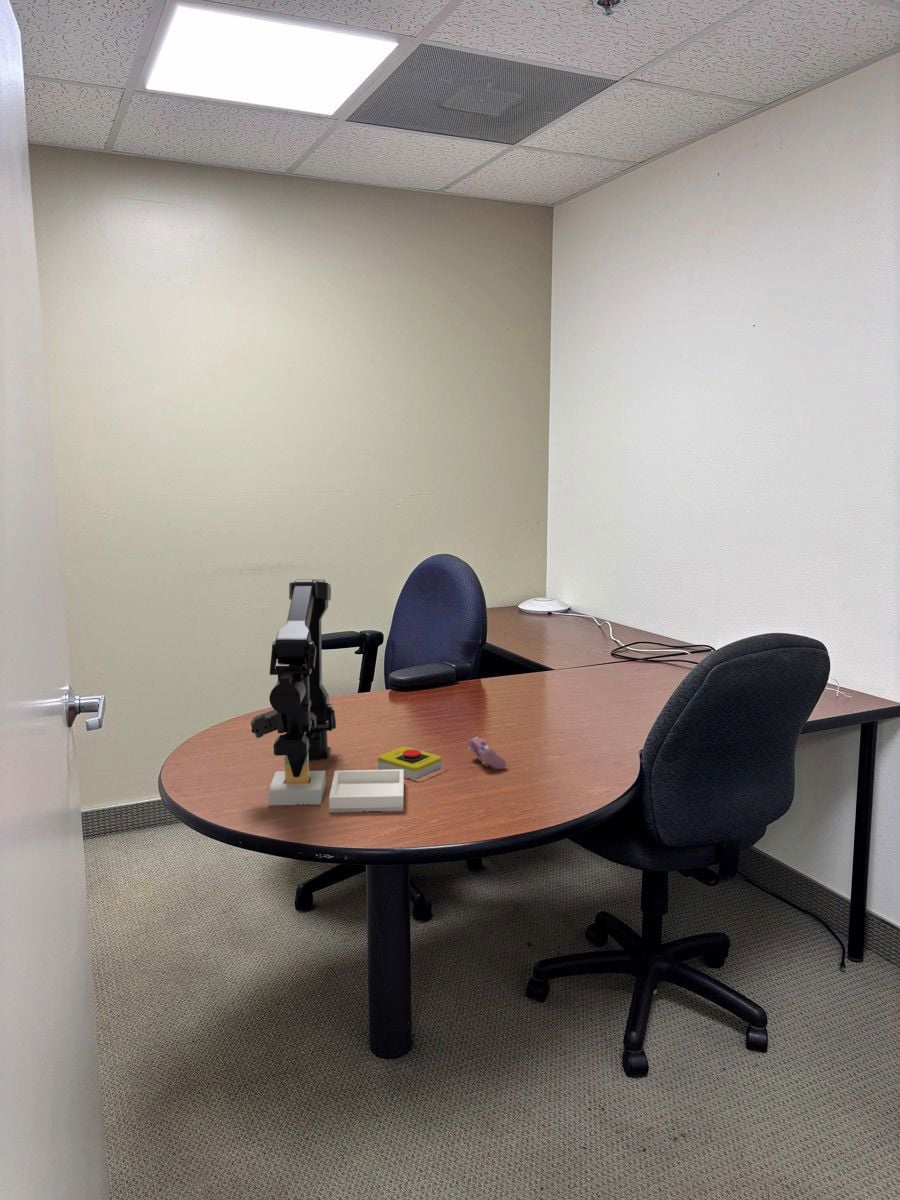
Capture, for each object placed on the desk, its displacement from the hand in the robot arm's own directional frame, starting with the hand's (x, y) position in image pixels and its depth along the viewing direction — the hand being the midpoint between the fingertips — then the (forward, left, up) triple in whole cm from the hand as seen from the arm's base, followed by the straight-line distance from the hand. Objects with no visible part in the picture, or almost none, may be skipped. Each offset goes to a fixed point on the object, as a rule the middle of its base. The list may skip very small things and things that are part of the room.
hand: (297, 774), depth 174 cm
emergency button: (-13, +22, -5) cm, 26 cm away
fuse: (0, 0, -4) cm, 4 cm away
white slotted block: (0, 0, -4) cm, 4 cm away
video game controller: (-15, +39, -5) cm, 42 cm away
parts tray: (+2, +14, -4) cm, 15 cm away
